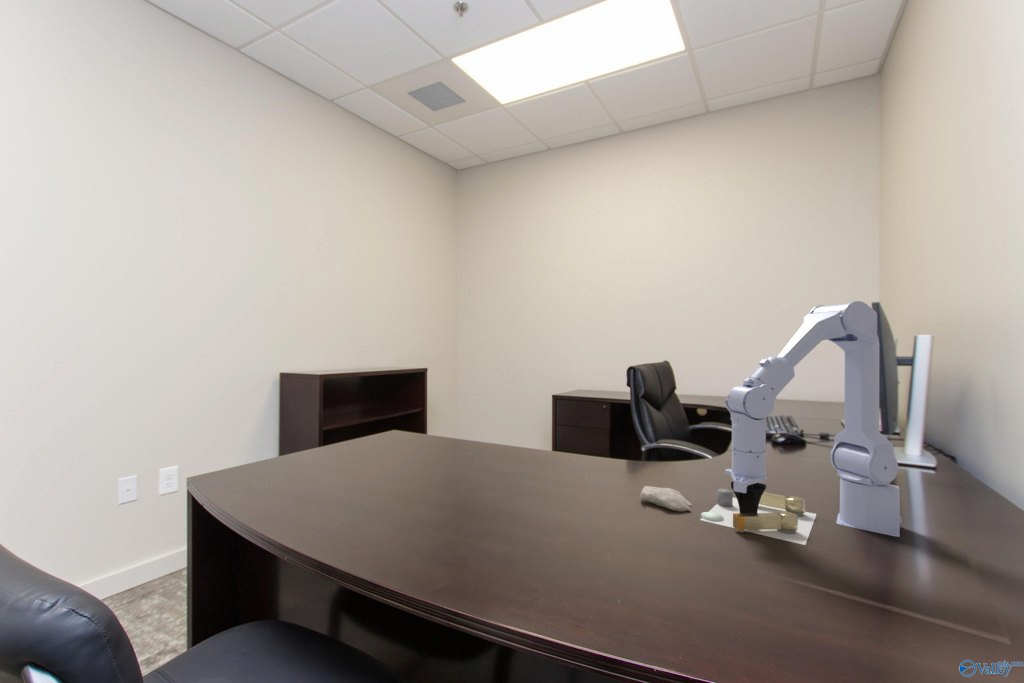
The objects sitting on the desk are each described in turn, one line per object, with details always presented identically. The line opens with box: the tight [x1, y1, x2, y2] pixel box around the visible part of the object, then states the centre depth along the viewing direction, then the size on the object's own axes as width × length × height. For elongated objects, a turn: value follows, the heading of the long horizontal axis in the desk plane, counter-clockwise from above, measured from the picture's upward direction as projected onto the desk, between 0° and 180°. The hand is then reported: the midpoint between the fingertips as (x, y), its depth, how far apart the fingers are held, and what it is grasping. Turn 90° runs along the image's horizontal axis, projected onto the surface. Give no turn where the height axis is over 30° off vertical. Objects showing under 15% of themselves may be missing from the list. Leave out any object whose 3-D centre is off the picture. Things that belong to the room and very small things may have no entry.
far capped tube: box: [759, 491, 806, 514], centre depth 97 cm, size 12×4×2 cm, turn 52°
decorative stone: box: [639, 485, 692, 512], centre depth 101 cm, size 11×4×15 cm
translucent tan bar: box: [733, 511, 798, 531], centre depth 84 cm, size 12×4×2 cm, turn 96°
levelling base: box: [699, 488, 817, 546], centre depth 92 cm, size 18×20×4 cm
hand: (748, 521), depth 86 cm, fingers closed, pressing on translucent tan bar
